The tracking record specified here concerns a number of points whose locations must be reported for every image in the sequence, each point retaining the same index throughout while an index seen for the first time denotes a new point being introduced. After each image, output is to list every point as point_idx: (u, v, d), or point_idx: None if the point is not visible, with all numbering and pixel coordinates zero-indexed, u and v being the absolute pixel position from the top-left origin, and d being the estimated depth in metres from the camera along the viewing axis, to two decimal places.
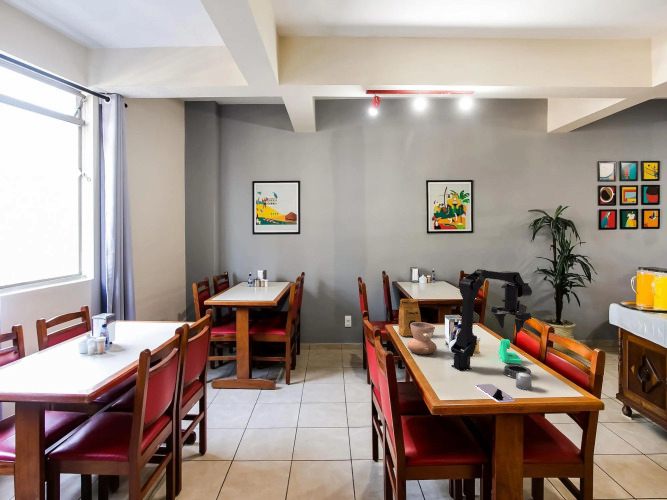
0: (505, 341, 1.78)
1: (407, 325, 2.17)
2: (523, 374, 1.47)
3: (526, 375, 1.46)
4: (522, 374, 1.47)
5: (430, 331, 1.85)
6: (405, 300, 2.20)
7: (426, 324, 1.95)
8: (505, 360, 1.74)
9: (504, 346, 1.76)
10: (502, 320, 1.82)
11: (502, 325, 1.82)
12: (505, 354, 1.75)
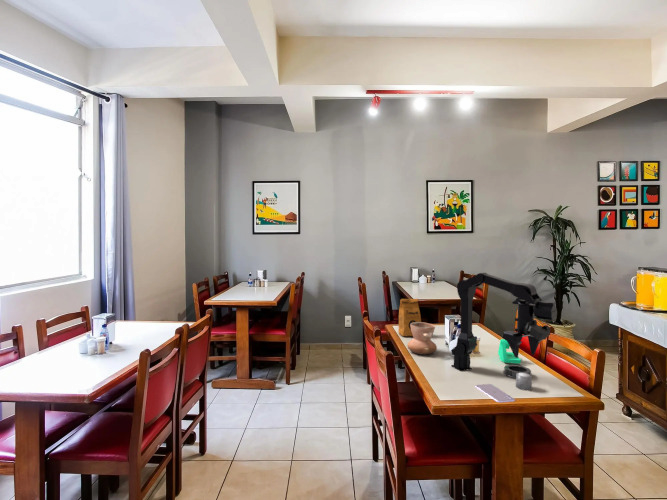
0: (504, 341, 1.78)
1: (407, 325, 2.17)
2: (523, 374, 1.47)
3: (526, 375, 1.46)
4: (522, 374, 1.47)
5: (430, 331, 1.85)
6: (405, 300, 2.20)
7: (426, 324, 1.95)
8: (504, 360, 1.74)
9: (503, 346, 1.76)
10: (533, 345, 1.49)
11: (532, 351, 1.49)
12: (504, 354, 1.75)
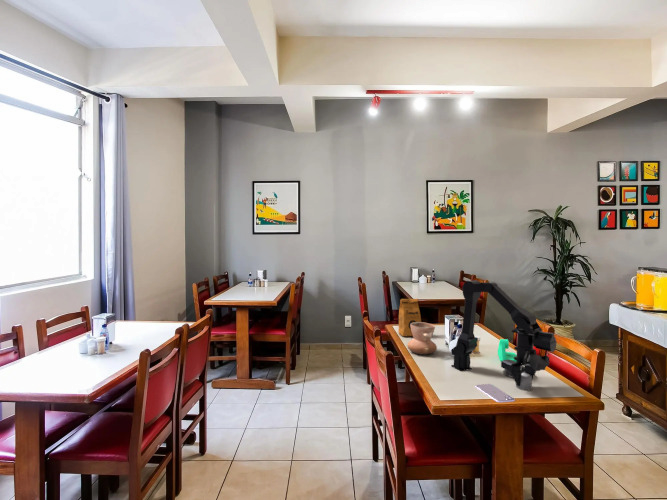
0: (504, 341, 1.78)
1: (407, 325, 2.17)
2: (523, 374, 1.47)
3: (526, 375, 1.46)
4: (522, 374, 1.47)
5: (430, 331, 1.85)
6: (405, 300, 2.20)
7: (426, 324, 1.95)
8: None
9: (503, 346, 1.77)
10: None
11: None
12: (503, 354, 1.75)
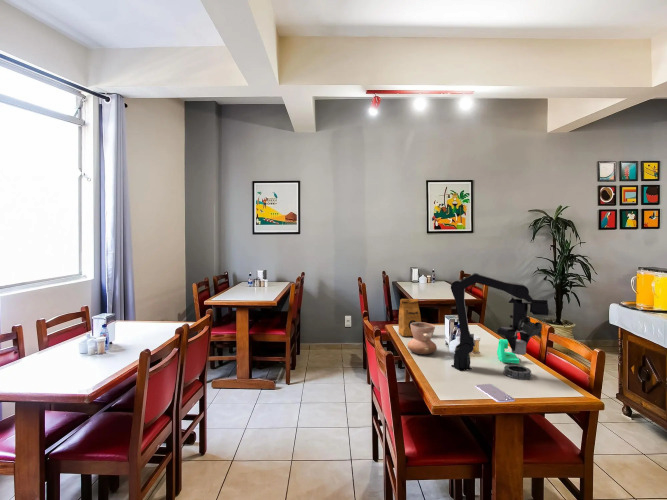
0: (503, 341, 1.78)
1: (407, 325, 2.17)
2: (518, 340, 1.59)
3: (521, 341, 1.58)
4: (517, 340, 1.59)
5: (430, 331, 1.85)
6: (405, 300, 2.20)
7: (426, 324, 1.95)
8: (503, 360, 1.74)
9: (502, 346, 1.77)
10: None
11: None
12: (503, 354, 1.75)
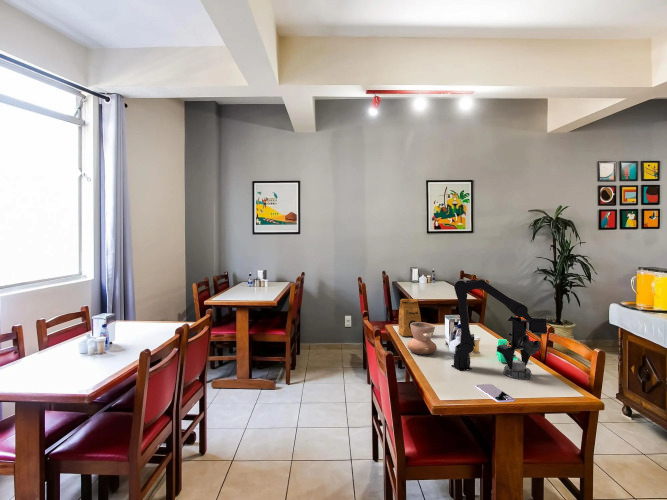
0: (502, 341, 1.78)
1: (407, 325, 2.17)
2: (517, 361, 1.60)
3: (520, 362, 1.59)
4: (516, 361, 1.60)
5: (430, 331, 1.85)
6: (405, 300, 2.20)
7: (426, 324, 1.95)
8: (502, 360, 1.74)
9: None
10: (525, 358, 1.62)
11: None
12: None
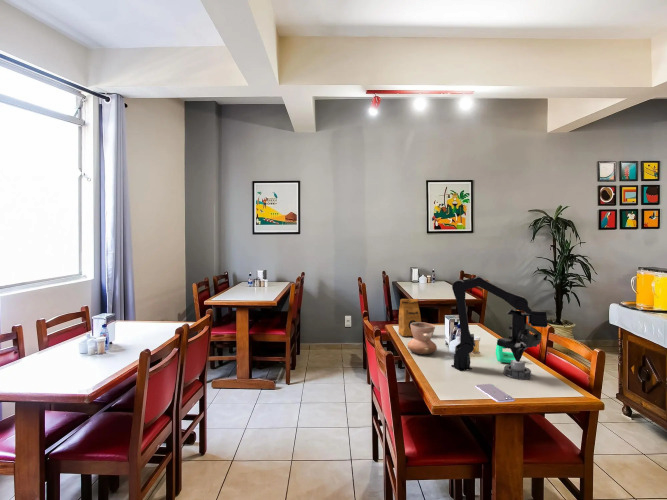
0: None
1: (407, 325, 2.17)
2: None
3: (520, 362, 1.59)
4: (516, 361, 1.60)
5: (430, 331, 1.85)
6: (405, 300, 2.20)
7: (426, 324, 1.95)
8: (500, 359, 1.74)
9: (500, 346, 1.77)
10: None
11: None
12: (500, 353, 1.75)
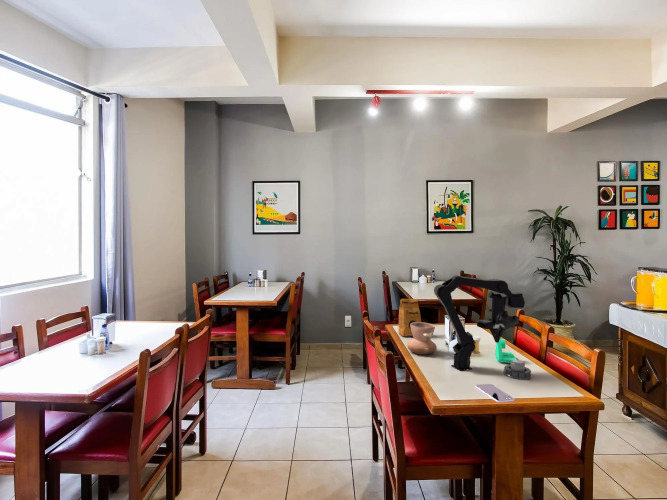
0: (500, 341, 1.78)
1: (407, 325, 2.17)
2: (517, 361, 1.60)
3: (520, 362, 1.59)
4: (516, 361, 1.60)
5: (430, 331, 1.85)
6: (405, 300, 2.20)
7: (426, 324, 1.95)
8: (500, 359, 1.74)
9: (499, 346, 1.77)
10: None
11: None
12: (500, 353, 1.75)
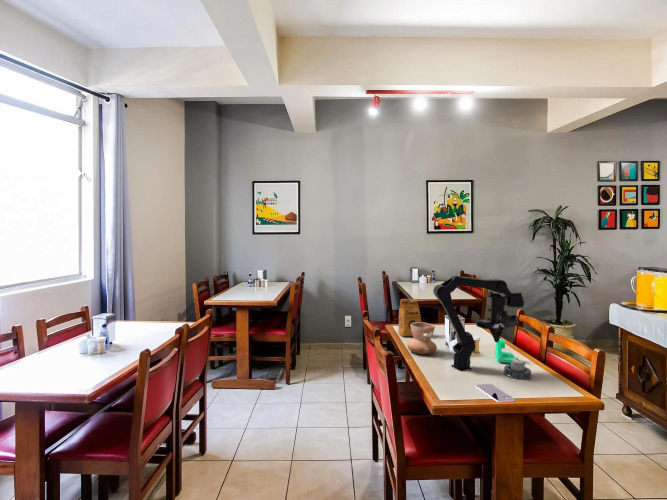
0: (500, 341, 1.78)
1: (407, 325, 2.17)
2: (517, 361, 1.60)
3: (520, 362, 1.59)
4: (516, 361, 1.60)
5: (430, 331, 1.85)
6: (405, 300, 2.20)
7: (426, 324, 1.95)
8: (499, 359, 1.74)
9: (499, 345, 1.77)
10: None
11: None
12: (499, 353, 1.75)
